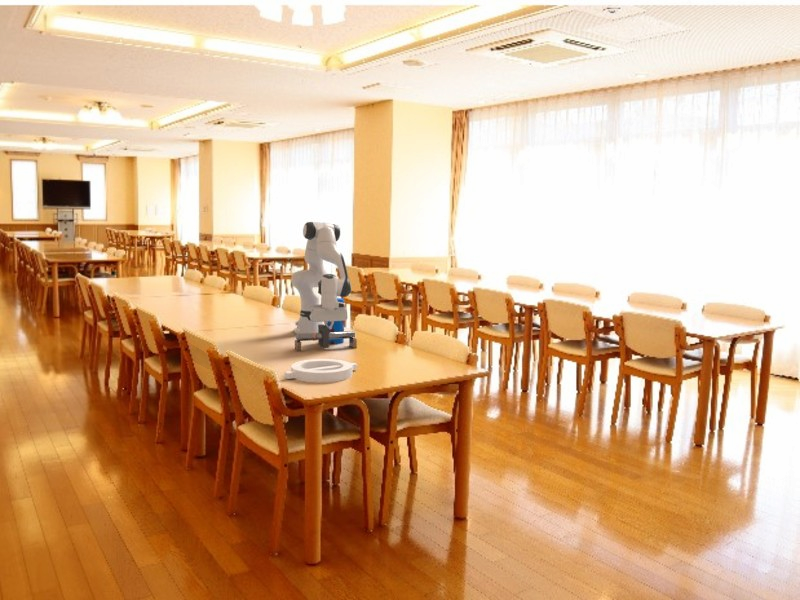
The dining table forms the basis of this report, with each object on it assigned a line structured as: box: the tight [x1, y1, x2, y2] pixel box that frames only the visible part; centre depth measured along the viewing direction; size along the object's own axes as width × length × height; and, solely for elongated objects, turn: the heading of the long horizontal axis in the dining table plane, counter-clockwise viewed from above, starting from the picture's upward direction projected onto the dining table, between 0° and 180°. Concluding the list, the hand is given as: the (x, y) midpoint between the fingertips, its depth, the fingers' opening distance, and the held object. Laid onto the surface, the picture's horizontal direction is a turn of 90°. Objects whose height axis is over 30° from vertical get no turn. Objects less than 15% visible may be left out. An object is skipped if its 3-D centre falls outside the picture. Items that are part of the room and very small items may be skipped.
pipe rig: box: [294, 330, 358, 352], centre depth 365 cm, size 7×33×9 cm, turn 112°
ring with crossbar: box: [284, 358, 358, 383], centre depth 306 cm, size 28×28×5 cm
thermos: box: [324, 297, 345, 345], centre depth 382 cm, size 11×11×25 cm
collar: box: [317, 323, 330, 349], centre depth 364 cm, size 11×3×11 cm, turn 22°
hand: (328, 329), depth 365 cm, fingers closed
